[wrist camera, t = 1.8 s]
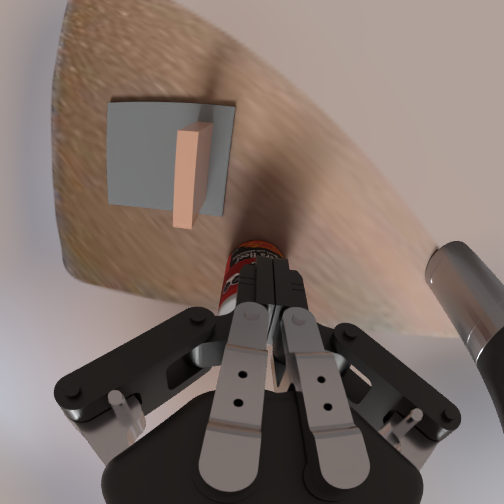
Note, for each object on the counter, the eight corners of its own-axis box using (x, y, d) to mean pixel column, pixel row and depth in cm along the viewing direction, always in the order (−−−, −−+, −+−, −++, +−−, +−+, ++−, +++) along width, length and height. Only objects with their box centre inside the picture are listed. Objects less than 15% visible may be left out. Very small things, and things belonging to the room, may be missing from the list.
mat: (235, 106, 29) (235, 106, 28) (222, 214, 35) (222, 216, 35) (110, 102, 28) (108, 102, 27) (110, 202, 35) (108, 203, 34)
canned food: (291, 242, 37) (300, 298, 28) (278, 292, 41) (282, 351, 32) (230, 233, 37) (220, 287, 27) (224, 284, 41) (214, 343, 31)
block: (213, 122, 29) (198, 131, 22) (205, 198, 34) (191, 229, 27) (197, 121, 29) (177, 130, 22) (190, 197, 34) (173, 226, 27)
